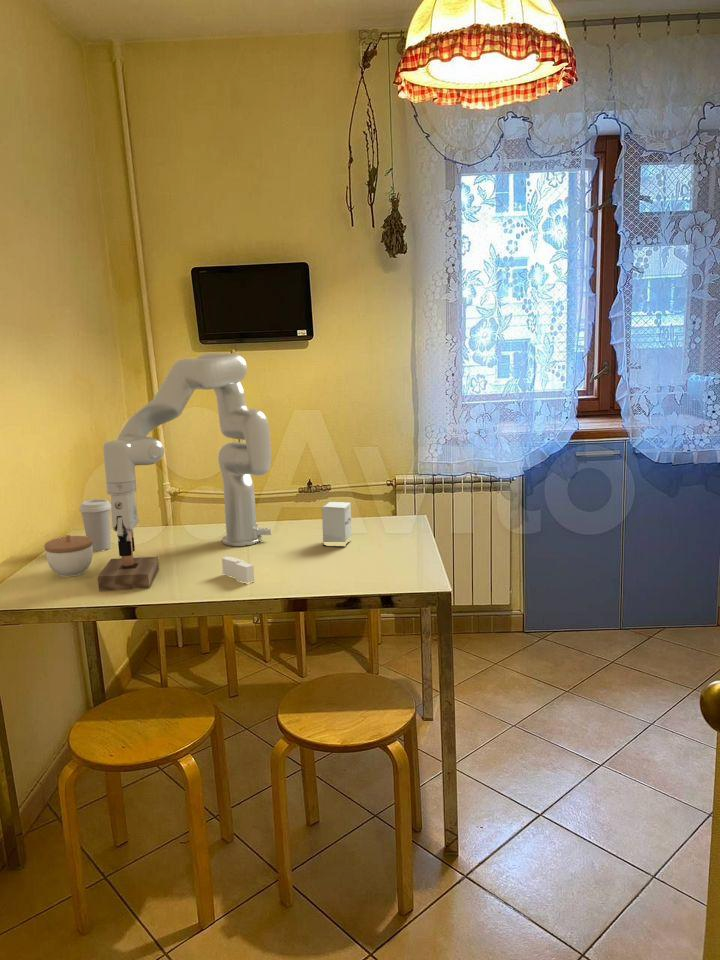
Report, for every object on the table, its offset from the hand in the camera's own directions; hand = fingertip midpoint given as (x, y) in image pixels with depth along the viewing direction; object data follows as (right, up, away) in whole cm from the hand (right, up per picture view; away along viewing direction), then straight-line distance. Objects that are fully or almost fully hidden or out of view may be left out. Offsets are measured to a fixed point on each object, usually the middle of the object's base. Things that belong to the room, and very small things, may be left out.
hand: (127, 553), depth 203 cm
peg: (0, -3, +1) cm, 3 cm away
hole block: (0, -8, +2) cm, 8 cm away
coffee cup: (-18, -2, +32) cm, 37 cm away
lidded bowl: (-18, -7, +9) cm, 22 cm away
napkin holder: (+30, -8, 0) cm, 31 cm away
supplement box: (+56, 0, +31) cm, 64 cm away
